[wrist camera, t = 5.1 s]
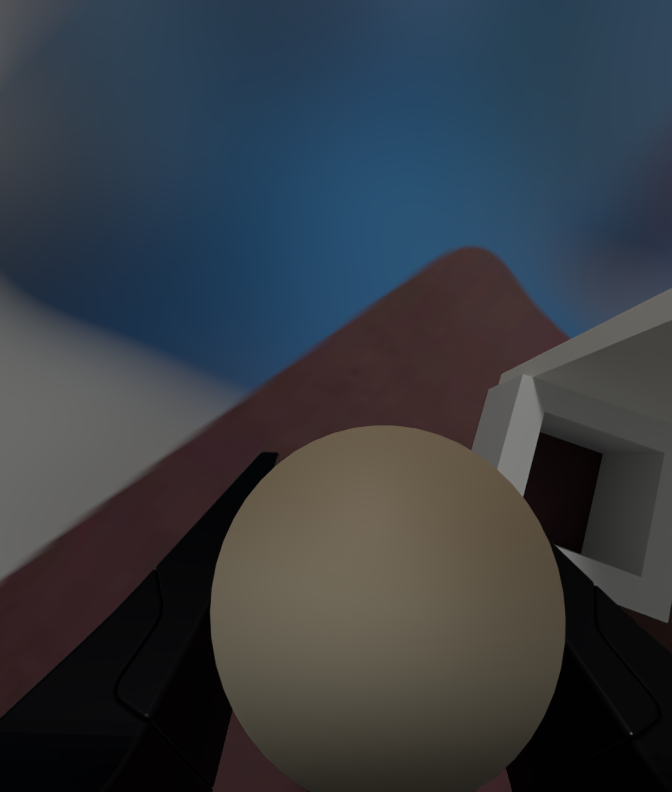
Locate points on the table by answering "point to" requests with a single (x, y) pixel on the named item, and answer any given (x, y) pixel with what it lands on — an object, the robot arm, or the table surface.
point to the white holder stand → (602, 444)
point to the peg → (387, 615)
